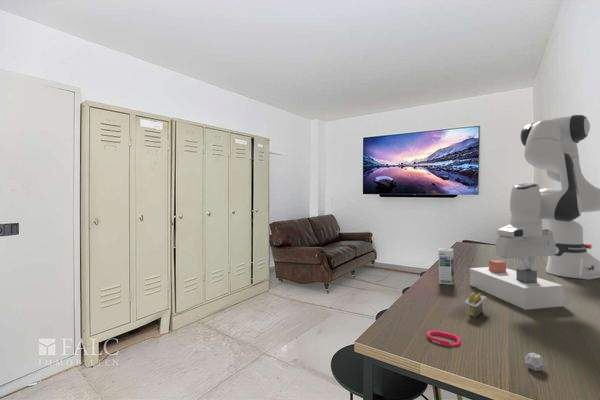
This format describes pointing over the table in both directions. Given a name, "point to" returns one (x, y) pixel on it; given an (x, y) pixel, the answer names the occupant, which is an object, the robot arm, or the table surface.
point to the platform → (475, 303)
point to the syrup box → (446, 266)
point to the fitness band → (441, 341)
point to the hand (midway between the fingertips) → (526, 269)
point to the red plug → (497, 266)
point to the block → (517, 289)
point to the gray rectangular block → (526, 276)
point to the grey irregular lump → (534, 362)
